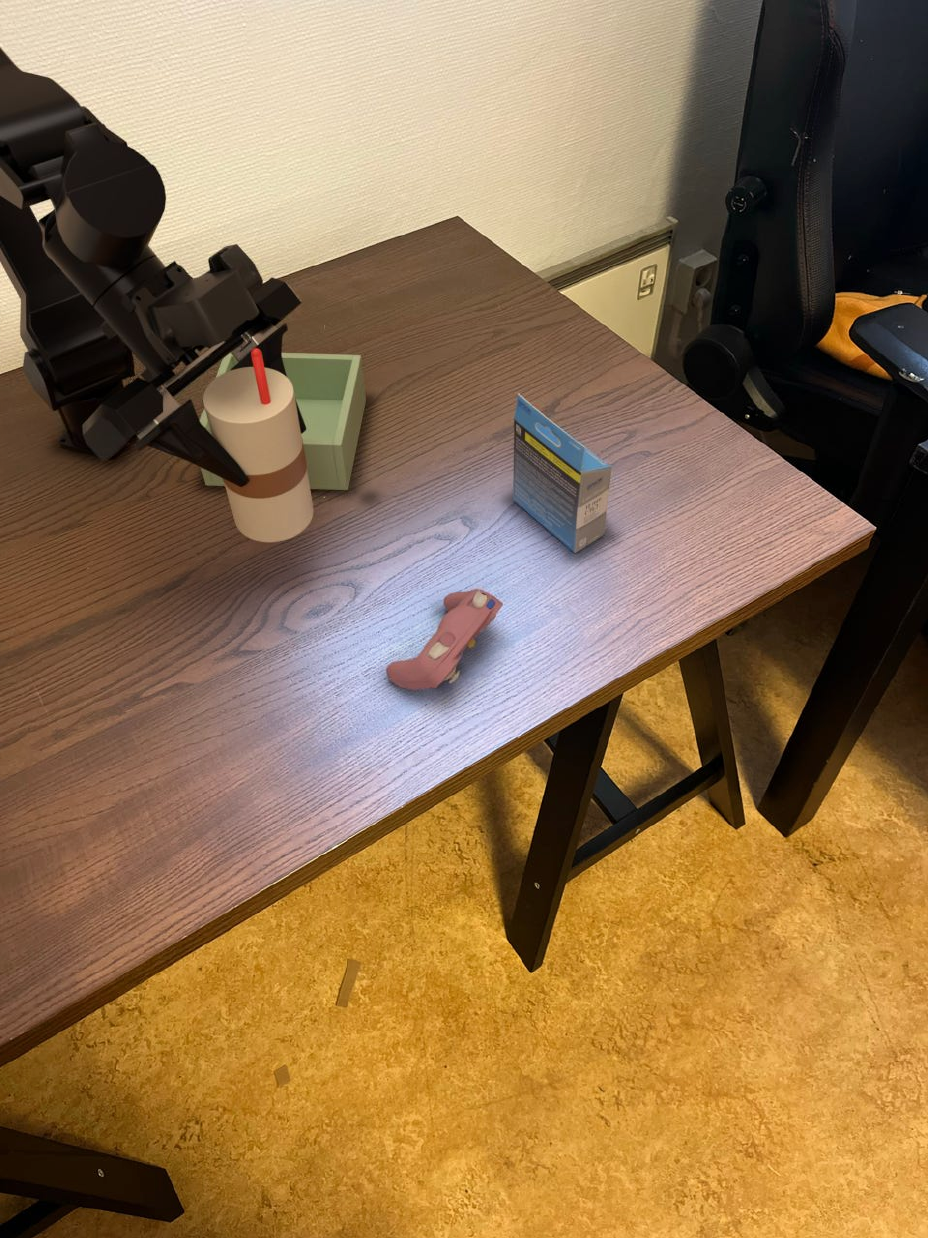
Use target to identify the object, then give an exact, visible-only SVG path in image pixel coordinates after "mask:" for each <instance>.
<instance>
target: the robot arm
mask: <svg viewBox="0 0 928 1238" xmlns="http://www.w3.org/2000/svg"><path fill="white" fill-rule="evenodd" d="M128 145H129V144H128V142H127V141H126V140H124V139H123V138H122V137H120V136H119V135H118V134H116V133H115V132H114V131H112V130H111V129H109V128H108V127H107V126H106V124H105V123H102V122H101V121H100V119H99V118H98V117H97V116H96V115H94V113H92V111H91V110H90V109H89V108H87V107H86V106H84V105H81V104H80V102H79V101H78V100H77V99H76V98H75V97H74V96H73V95H72V94H71V93H70V92H68V91H67V90H66V89H65V88H64V87H62V86H61V84H60V83H58V82H57V81H56V80H54V79H52V78H51V77H49V76H45V75H40V74H35V73H32V72H27V71H24V70H22V69H21V68H20V67H18V65H17V64H16V63H15V62H14V61H13V60H12V59H11V57H10V56H9V55H8V54H7V53H6V52H5V51H4V50H3V48H2V47H1V46H0V264H1V266H2V268H3V271H4V272H5V274H6V276H7V277H8V279H9V281H10V282H11V284H12V286H13V288H14V290H15V292H16V293H17V296H18V297H19V299H20V313H19V314H20V316H19V318H20V319H19V336H20V338H21V340H22V342H23V344H24V346H25V348H26V350H27V351H25V352H24V355H23V363H22V370H23V371H24V372H23V373H24V374H25V376H26V377H27V379H28V382H29V383H30V386H31V387H32V389H33V390H34V392H35V393H36V394H37V395H38V396H39V397H40V398H41V399H42V401H43V402H44V403H45V404H46V405H47V406H48V407H49V409H51V411H52V412H56V411H58V414H59V416H60V419H61V421H62V423H63V425H64V428H65V430H66V431H65V433H64V434H63V435H62V436H61V437H60V438H59V439H58V440H57V443H58V445H59V447H61V448H64V449H68V450H72V451H76V452H79V453H84V454H86V455H87V454H88V455H92V456H96V457H98V459H100V460H101V461H102V463H105V462H107V461H108V460H114V459H116V458H118V456H120V455H121V453H122V452H123V451H124V450H125V448H126V447H128V445H129V444H130V443H131V442H132V441H133V440H134V439H135V438H136V437H137V438H138V439H139V441H138V442H137V443H136V444H134V446H133V447H134V448H135V449H136V450H137V451H138V452H141V451H142V450H144V449H145V448H146V447H149V448H152V449H154V450H157V451H160V452H163V453H165V454H168V455H170V456H173V457H177V458H179V459H181V460H184V461H186V462H188V463H191V464H192V465H194V466H197V467H199V468H200V467H201V468H203V469H205V470H207V471H209V472H211V473H213V474H215V475H217V476H219V477H221V478H223V479H225V480H227V481H229V482H231V483H233V484H235V485H237V486H239V487H244V486H245V485H247V484H248V483H249V479H248V477H247V476H246V474H245V473H244V472H243V470H242V469H241V467H240V466H239V465H238V464H237V462H236V461H235V460H234V459H233V458H232V457H231V456H230V455H229V454H228V453H227V451H226V450H225V449H224V448H223V447H222V446H221V445H220V444H219V443H218V442H217V440H216V439H215V438H214V437H213V436H212V435H211V434H210V433H209V432H208V431H207V429H206V428H205V427H204V426H203V425H202V424H201V422H200V418H199V416H198V413H197V411H196V408H195V405H194V402H193V399H191V398H189V399H188V400H187V401H185V402H184V403H182V404H180V402H179V401H178V400H176V398H175V397H176V396H177V395H178V394H181V392H182V391H184V390H185V389H186V388H187V387H189V386H191V384H193V383H194V382H195V381H197V380H198V379H199V378H201V377H202V376H203V375H204V374H205V373H206V372H208V371H210V369H212V368H213V367H214V366H216V365H217V364H218V363H220V361H221V362H222V359H223V358H224V357H226V356H227V355H228V354H230V353H231V354H232V355H233V356H234V357H235V359H236V360H237V361H238V363H237V364H236V365H235V366H234V367H233V368H231V369H230V370H235V369H239V368H244V367H254V366H253V361H252V356H251V351H252V350H253V349H254V348H258V349H259V350H260V351H261V353H262V358H263V363H264V368H269V369H273V370H276V371H278V372H280V373H282V374H283V375H285V376H286V377H287V374H286V371H285V367H284V363H283V360H282V353H283V338H284V335H285V334H286V332H288V330H289V328H288V323H287V322H285V323H283V324H282V325H281V326H280V327H278V328H277V327H276V326H278V325H279V324H280V323H281V322H282V321H284V320H285V318H286V317H288V316H289V315H290V314H291V313H292V312H293V311H295V310H296V309H297V308H298V307H299V306H300V305H301V304H303V300H302V299H301V298H300V296H298V294H297V293H296V292H295V291H294V289H293V287H291V285H290V284H289V283H288V282H286V281H283V280H281V279H278V278H276V277H273V276H272V277H270V278H269V279H268V280H266V281H265V282H264V280H263V277H262V275H261V273H260V271H259V269H258V267H257V265H256V264H255V262H254V261H253V260H252V258H251V257H250V256H248V254H247V253H246V252H245V251H244V250H243V249H242V248H241V246H239V244H238V243H235V244H229V245H226V246H223V248H221V249H219V250H218V251H216V252H215V253H214V254H212V255H210V256H209V257H208V259H207V262H208V267H209V269H208V270H207V271H205V272H204V273H203V274H201V275H200V276H197V277H194V276H193V277H192V276H191V275H190V273H188V272H187V270H186V269H185V268H184V267H183V265H180V264H178V263H177V262H176V261H175V260H174V261H173V262H171V263H169V264H168V265H165V264H164V262H163V261H162V260H161V259H160V258H159V257H158V256H157V254H156V253H155V252H154V251H153V249H152V248H151V246H149V245H150V242H151V240H152V238H153V236H154V234H155V233H156V230H157V228H158V226H159V225H160V222H161V220H162V218H163V215H164V212H165V210H166V204H167V194H166V193H167V192H166V187H165V184H164V180H163V178H162V175H161V174H160V172H159V170H158V168H157V167H156V166H155V165H154V164H152V163H151V162H150V161H149V160H148V159H147V158H146V156H144V155H143V154H142V153H140V152H138V151H137V150H136V149H135V148H133V147H131V146H128ZM48 200H50V202H51V204H52V206H53V210H52V211H50V212H48V213H47V214H46V215H44V216H43V217H40V218H39V220H37V217H36V215H35V213H34V212H33V210H32V206H35V205H38V204H40V203H43V202H46V201H48ZM206 348H208V349H207V350H206V351H204V352H203V353H202V354H200V355H199V354H198V352H199V353H201V352H202V351H203V350H204V349H206ZM197 351H198V352H197ZM133 355H134V356H135V357H136V359H138V361H139V362H140V363H141V364H142V365H143V366H144V367H145V369H144V370H143V371H142V372H141V373H140V376H141V377H136V378H135V379H133V380H132V381H131V382H129V383H128V384H127V385H124V380H126V379H128V378H130V379H131V378H134V377H135V376H136V371H135V368H136V366H135V360H134V356H133ZM181 363H183V365H184V366H185V367H184V368H182V369H181V370H179V371H178V372H177V373H176V372H175V371H174V370H175V369H177V368H178V366H180V364H181ZM295 402H296V399H295ZM296 407H297V413H298V419H299V425H300V431H301V434H302V433H304V432H305V431H306V426H305V423H304V420H303V418H302V415H301V412H300V410H299V407H298V404H297V402H296ZM201 468H200V469H201Z"/></svg>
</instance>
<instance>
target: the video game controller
mask: <svg viewBox="0 0 928 1238" xmlns="http://www.w3.org/2000/svg"><path fill="white" fill-rule="evenodd" d="M503 605H504V602H501V600H499V598H497V597H496V596H495V595H493V594H491V593H490V592H488V591H485V590H483V589H479V588H474V589H471V590H467V591H466V590H465V591H454V592H450V593H449V594H447V595H446V596H445V597H444V598H443V606H444V608H445V610H446V613H445V615H444V616H443V617H442V618H441V620H440V622H439V624H438V626H437V629H436V632H435V633H434V634H433V635H432V637H431V638H430V639H429V641H427V643H426V644H425V646H424V647H423V649H422V650H421V651H420V653H419V654H418V655H417V656H415V657H413V658H409V659H404V660H397V661H392V662H391V663H389V664H388V665H387V667H386V676H387V677H388V679H389V681H390V682H391V683H393V684H394V685H396V686H397V687H400V688H403V689H407V690H413V691H414V690H415V691H416V690H417V691H419V690H426V689H427V690H428V689H430V688H432V689H434V690H435V689H436V688H437V687H438V686H439V685H440V684H441V683H443V682H445V681H447V680H449V681H448V684H452V683H454V682H455V681H456V680H457V679H458V678H459V676H460V672H461V671H460V670H457V667H458V664H459V661H460V660H461V658H462V657H463V653H462V652H464V651H465V649H467V647H468V649H470V648H473V647H474V646H475V644H476V639H475V638H476V637H478V636H479V634H480V633H481V632H482V631H483V630H484V629H486V628H488V627H490V625H491V623H492V622H493V621H494V620H495V618H496V616H497V614H498V613H499V611H500V610H501V608H502V607H503Z"/></svg>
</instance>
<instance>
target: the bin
mask: <svg viewBox="0 0 928 1238" xmlns="http://www.w3.org/2000/svg"><path fill="white" fill-rule="evenodd" d="M282 360H283V363H284V367H285V371H286V374H287V378H288V379H289V380H290V382H291V384H292V386H293V390H294V396H295V399H296V402H297V404H298V407H299V410H300V412H301V415H302V418H303V420H304V423H305V426H306V431H305V432H304V433H302V434H301V436H302V439H303V445H304V451H305V457H306V463H307V472H308V478H309V484H310V490H327V491H329V490H330V491H332V490H334V491H348V490H349V488H350V487H349V486H350V482H351V477H352V471H353V466H354V462H355V456H356V453H357V452H356V451H357V448H358V447H357V446H358V441H359V437H360V432H361V427H362V422H363V417H364V413H365V408H366V403H367V397H366V396H367V395H366V386H365V378H364V369H363V359H362V354H344V353H343V354H340V353H339V354H338V353H307V352H306V353H301V352H282ZM237 363H238V361H237V360H236V359H235V357H234V356H233V355H232V354H231V353H230V354H228V355H227V356H226V357H224V358H223V359H222V360H221V363H220V364H219V367H218V370H217V373H216V376H215V377H214V379H216V378H217V377H218V376H220V375H222V374H224V373H226V372H229V371H231V370H230V369H231V368H233V367H234V366H235V365H236V364H237ZM202 410H203V411H202V413H201V415H200V418H199V421H200V422H201V424H202V425H203V426H204V427H205V428H206V429H207V431H208V432H209V433H210V434H211V430H210V427H209V423H208V419H207V415H206V412H205V408H203V409H202ZM211 435H212V434H211ZM199 468H200V471H201V474H202V477H203V481H204V484H205V486H210V487H211V486H215V487H225V483H224V481H223V478H221V477H219V476H217V475H215V474H213V473H211V472H209V471H207V470H205V469H203V468H201V467H199Z"/></svg>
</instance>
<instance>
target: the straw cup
mask: <svg viewBox="0 0 928 1238" xmlns="http://www.w3.org/2000/svg"><path fill="white" fill-rule="evenodd" d="M251 356H252V361H253V366H254V367H244V368H239V369H235V370H231V371H229V372H226V373H224V374H222V375H220V376H218V377H217V378H216V377H215V378H216V379H215V378H214V379H213V380H212V381H210V383H209V384H208V385H207V386H206V388H205V390H204V391H203V394H202V404H203V407H204V408H205V412H206V415H207V419H208V423H209V427H210V430H211V434H212V436H213V437H214V438H215V439H216V440H217V442H218V443H219V444H220V445H221V446H222V447H223V448H224V449H225V450H226V451H227V453H228V454H229V455H230V456H231V457H232V458H233V459H234V460H235V461H236V462H237V464H238V465H239V466H240V467H241V469H242V470H243V472H244V473H245V474H246V476H247V477H248V479H249V483H248V484H247V485H245V486H244V487H239V486H237V485H235V484H233V483H231V482H229V481H227V480H225V479H223V481H224V483H225V486H224V487H225V491H226V495H227V498H228V502H229V506H230V510H231V513H232V518H233V522H234V524H235V527H236V528H237V530H238V532H240V533H241V534H242V535H243V536H245V537H246V538H248V539H250V540H253V541H256V542H261V543H278V542H283V541H286V540H290V539H292V538H295V537H296V536H298V535H300V534H301V533H302V532H304V531H305V529H307V528H308V526H310V524H311V522H312V519H313V517H314V513H315V512H314V510H315V509H314V502H313V497H312V496H313V495H312V492H311V491H312V489H310V484H309V478H308V472H307V463H306V457H305V451H304V445H303V439H302V436H301V431H300V425H299V419H298V413H297V407H296V402H295V396H294V390H293V386H292V384H291V382H290V380H289V379H288V378H287V377H286V376H285V375H283V374H282V373H280V372H278V371H276V370H273V369H269V368H264V363H263V358H262V353H261V351H260V350H259V349H258V348H254V349H253V350H252V351H251ZM204 408H203V409H204Z"/></svg>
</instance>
